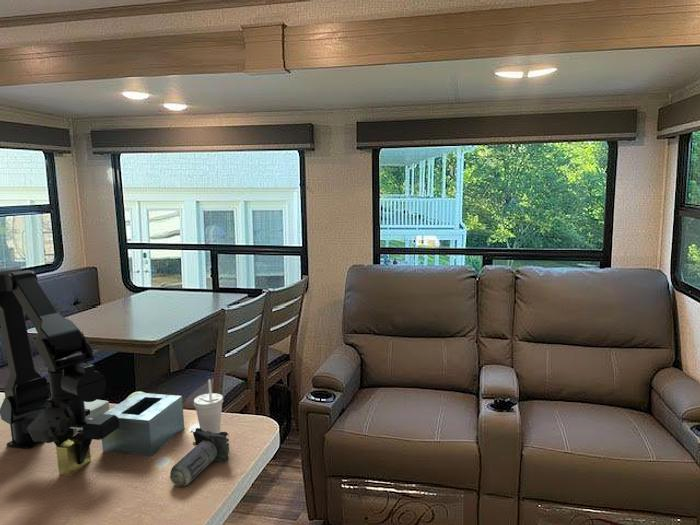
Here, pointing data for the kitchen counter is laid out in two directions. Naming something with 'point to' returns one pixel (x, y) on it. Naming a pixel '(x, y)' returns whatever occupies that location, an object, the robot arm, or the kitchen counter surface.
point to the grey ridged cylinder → (200, 456)
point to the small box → (96, 408)
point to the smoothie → (209, 410)
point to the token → (69, 458)
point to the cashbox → (145, 423)
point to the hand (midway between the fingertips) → (75, 462)
